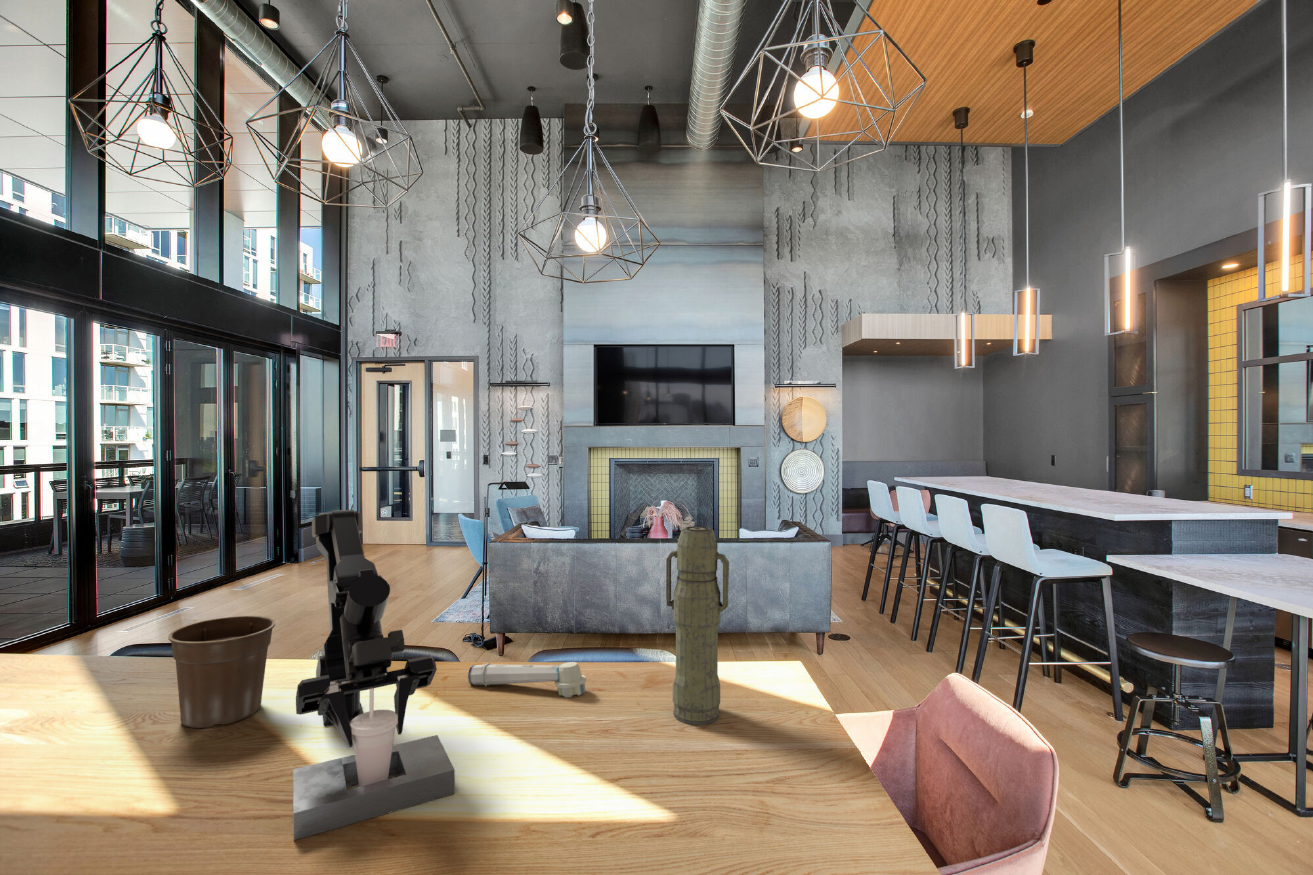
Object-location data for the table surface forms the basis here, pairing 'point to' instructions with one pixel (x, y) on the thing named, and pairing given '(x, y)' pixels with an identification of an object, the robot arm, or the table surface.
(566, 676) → the toothbrush head
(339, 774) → the block
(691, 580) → the thermos
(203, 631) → the plant pot
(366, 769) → the smoothie
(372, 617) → the robot arm
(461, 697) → the table surface
